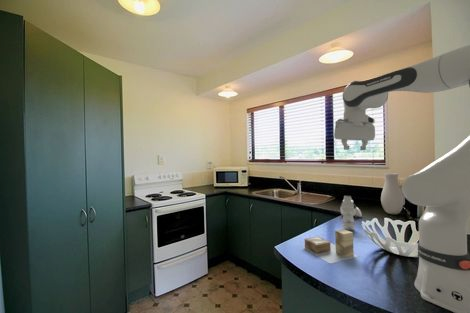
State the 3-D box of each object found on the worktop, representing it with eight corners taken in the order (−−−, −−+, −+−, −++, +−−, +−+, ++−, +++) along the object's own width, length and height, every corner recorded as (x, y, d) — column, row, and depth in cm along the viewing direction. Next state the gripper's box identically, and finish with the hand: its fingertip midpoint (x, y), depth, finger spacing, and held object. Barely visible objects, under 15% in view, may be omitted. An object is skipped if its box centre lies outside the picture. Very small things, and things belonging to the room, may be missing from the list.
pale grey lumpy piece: (338, 215, 160) (338, 199, 160) (349, 213, 165) (348, 198, 165) (353, 219, 149) (353, 202, 149) (364, 217, 154) (364, 201, 154)
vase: (376, 212, 166) (375, 173, 166) (390, 210, 170) (389, 172, 170) (394, 216, 153) (392, 174, 153) (408, 214, 157) (407, 173, 157)
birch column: (353, 255, 94) (352, 232, 94) (344, 257, 92) (344, 234, 92) (344, 251, 98) (343, 229, 98) (335, 252, 97) (335, 230, 97)
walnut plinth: (330, 250, 99) (330, 241, 99) (316, 254, 96) (316, 244, 96) (318, 244, 106) (318, 236, 106) (304, 247, 104) (304, 238, 104)
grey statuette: (356, 231, 125) (355, 197, 125) (344, 231, 126) (343, 197, 127) (352, 228, 131) (351, 195, 132) (341, 227, 133) (339, 195, 133)
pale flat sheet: (359, 258, 93) (359, 256, 93) (330, 266, 87) (330, 263, 87) (328, 243, 110) (327, 241, 110) (301, 248, 104) (301, 246, 104)
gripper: (341, 116, 93) (341, 148, 92) (377, 119, 99) (378, 149, 98) (330, 119, 99) (331, 149, 98) (365, 122, 105) (366, 150, 104)
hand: (354, 149), depth 98 cm, fingers open, 8 cm apart
